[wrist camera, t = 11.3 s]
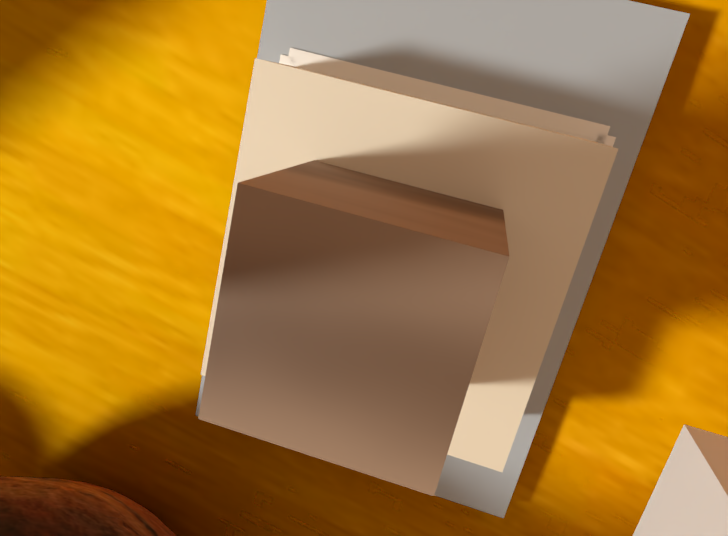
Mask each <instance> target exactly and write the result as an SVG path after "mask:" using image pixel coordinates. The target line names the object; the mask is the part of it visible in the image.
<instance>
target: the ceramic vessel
mask: <svg viewBox="0 0 728 536" xmlns="http://www.w3.org/2000/svg"><path fill="white" fill-rule="evenodd" d="M0 536H176V535H175V534H174V533H173V532H172V531H171V530H170V529H169V528H168V527H167V526H166V525H165V524H163V523H162V522H161V521H160V520H159V519H158V518H157V517H156V516H155V515H154V514H153V513H151V512H150V511H148V510H147V509H146V508H144V507H143V506H141V505H139V504H138V503H136V502H134V501H133V500H131V499H129V498H128V497H126V496H124V495H122V494H119V493H117V492H115V491H113V490H111V489H107V488H104V487H100V486H97V485H93V484H90V483H86V482H79V481H72V480H65V479H58V478H40V477H20V476H10V477H7V476H0Z"/></svg>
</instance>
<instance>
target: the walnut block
mask: <svg viewBox="0 0 728 536" xmlns="http://www.w3.org/2000/svg"><path fill="white" fill-rule="evenodd" d="M508 260H509V249H508V242H507V234H506V227H505V219H504V212H503V210H502V209H498V208H494V207H490V206H487V205H483V204H479V203H475V202H471V201H468V200H464V199H460V198H456V197H452V196H448V195H445V194H441V193H437V192H433V191H429V190H426V189H422V188H418V187H414V186H410V185H407V184H403V183H399V182H395V181H391V180H387V179H384V178H380V177H376V176H372V175H368V174H365V173H361V172H357V171H353V170H349V169H346V168H342V167H338V166H334V165H330V164H326V163H323V162H319V161H315V160H313V161H310V162H306V163H303V164H299V165H296V166H293V167H289V168H286V169H282V170H279V171H276V172H272V173H269V174H266V175H262V176H259V177H255V178H252V179H249V180H245V181H242V182H238V184H237V190H236V196H235V202H234V208H233V214H232V220H231V226H230V232H229V238H228V244H227V250H226V256H225V262H224V268H223V273H222V279H221V285H220V291H219V297H218V303H217V309H216V315H215V321H214V327H213V333H212V339H211V345H210V351H209V357H208V363H207V369H206V375H205V381H204V387H203V393H202V399H201V405H200V411H199V417H198V419H200V420H203V421H206V422H209V423H212V424H215V425H218V426H221V427H224V428H227V429H230V430H233V431H236V432H239V433H242V434H245V435H248V436H252V437H255V438H258V439H261V440H264V441H267V442H270V443H273V444H276V445H279V446H282V447H285V448H288V449H291V450H294V451H297V452H300V453H303V454H306V455H309V456H312V457H315V458H318V459H322V460H325V461H328V462H331V463H334V464H337V465H340V466H343V467H346V468H349V469H352V470H355V471H358V472H361V473H364V474H367V475H370V476H373V477H376V478H379V479H382V480H385V481H388V482H391V483H395V484H398V485H401V486H404V487H407V488H410V489H413V490H416V491H419V492H422V493H425V494H428V495H431V496H434V494H435V491H436V488H437V485H438V482H439V479H440V475H441V472H442V469H443V466H444V463H445V460H446V456H447V453H448V450H449V447H450V444H451V441H452V437H453V434H454V431H455V428H456V425H457V422H458V418H459V415H460V412H461V409H462V406H463V402H464V399H465V396H466V393H467V390H468V387H469V383H470V380H471V377H472V374H473V371H474V368H475V364H476V361H477V358H478V355H479V352H480V349H481V345H482V342H483V339H484V336H485V333H486V330H487V326H488V323H489V320H490V317H491V314H492V310H493V307H494V304H495V301H496V298H497V295H498V291H499V288H500V285H501V282H502V279H503V276H504V272H505V269H506V266H507V263H508Z"/></svg>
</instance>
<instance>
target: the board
mask: <svg viewBox="0 0 728 536" xmlns="http://www.w3.org/2000/svg"><path fill="white" fill-rule="evenodd" d="M689 16H690V14H689V13H685V12H680V11H675V10H671V9H666V8H662V7H657V6H652V5H648V4H643V3H639V2H634V1H630V0H267V4H266V10H265V15H264V21H263V27H262V33H261V38H260V44H259V50H258V56H257V58H255V62H254V68H253V73H252V79H251V85H250V91H249V97H248V102H247V108H246V114H245V120H244V126H243V132H242V137H241V143H240V149H239V155H238V161H237V166H236V172H235V178H234V184H233V190H232V196H231V201H230V207H229V213H228V219H227V225H226V230H225V236H224V242H223V248H222V254H221V260H220V265H219V271H218V277H217V283H216V289H215V294H214V300H213V306H212V312H211V318H210V324H209V329H208V335H207V341H206V347H205V353H204V358H203V364H202V370H201V375H202V380H201V386H200V391H199V397H198V403H197V409H196V416H199V411H200V405H201V399H202V393H203V387H204V381H205V375H206V369H207V363H208V357H209V351H210V345H211V339H212V333H213V327H214V321H215V315H216V309H217V303H218V297H219V291H220V285H221V279H222V273H223V268H224V262H225V256H226V250H227V244H228V238H229V232H230V226H231V220H232V214H233V208H234V202H235V196H236V190H237V184H238V182H242V181H245V180H249V179H252V178H255V177H259V176H262V175H266V174H269V173H272V172H276V171H279V170H282V169H286V168H289V167H293V166H296V165H299V164H303V163H306V162H310V161H313V160H315V161H319V162H323V163H326V164H330V165H334V166H338V167H342V168H346V169H349V170H353V171H357V172H361V173H365V174H368V175H372V176H376V177H380V178H384V179H387V180H391V181H395V182H399V183H403V184H407V185H410V186H414V187H418V188H422V189H426V190H429V191H433V192H437V193H441V194H445V195H448V196H452V197H456V198H460V199H464V200H468V201H471V202H475V203H479V204H483V205H487V206H490V207H494V208H498V209H502V210H503V212H504V219H505V227H506V234H507V242H508V249H509V260H508V263H507V266H506V269H505V272H504V276H503V279H502V282H501V285H500V288H499V291H498V295H497V298H496V301H495V304H494V307H493V310H492V314H491V317H490V320H489V323H488V326H487V330H486V333H485V336H484V339H483V342H482V345H481V349H480V352H479V355H478V358H477V361H476V364H475V368H474V371H473V374H472V377H471V380H470V383H469V387H468V390H467V393H466V396H465V399H464V402H463V406H462V409H461V412H460V415H459V418H458V422H457V425H456V428H455V431H454V434H453V437H452V441H451V444H450V447H449V450H448V453H447V456H446V460H445V463H444V466H443V469H442V472H441V475H440V479H439V482H438V485H437V488H436V491H435V494H434V495H435V496H438V497H441V498H444V499H447V500H450V501H453V502H456V503H459V504H462V505H465V506H468V507H471V508H474V509H477V510H480V511H483V512H486V513H489V514H492V515H495V516H498V517H501V518H504V516H505V514H506V511H507V508H508V505H509V503H510V500H511V497H512V495H513V492H514V489H515V487H516V484H517V481H518V478H519V476H520V473H521V470H522V468H523V465H524V462H525V460H526V457H527V454H528V451H529V449H530V446H531V443H532V441H533V438H534V435H535V432H536V430H537V427H538V424H539V422H540V419H541V416H542V414H543V411H544V408H545V405H546V403H547V400H548V397H549V395H550V392H551V389H552V386H553V384H554V381H555V378H556V376H557V373H558V370H559V368H560V365H561V362H562V359H563V357H564V354H565V351H566V349H567V346H568V343H569V341H570V338H571V335H572V332H573V330H574V327H575V324H576V322H577V319H578V316H579V313H580V311H581V308H582V305H583V303H584V300H585V297H586V295H587V292H588V289H589V286H590V284H591V281H592V278H593V276H594V273H595V270H596V267H597V265H598V262H599V259H600V257H601V254H602V251H603V249H604V246H605V243H606V240H607V238H608V235H609V232H610V230H611V227H612V224H613V221H614V219H615V216H616V213H617V211H618V208H619V205H620V203H621V200H622V197H623V194H624V192H625V189H626V186H627V184H628V181H629V178H630V176H631V173H632V170H633V167H634V165H635V162H636V159H637V157H638V154H639V151H640V148H641V146H642V143H643V140H644V138H645V135H646V132H647V130H648V127H649V124H650V121H651V119H652V116H653V113H654V111H655V108H656V105H657V102H658V100H659V97H660V94H661V92H662V89H663V86H664V84H665V81H666V78H667V75H668V73H669V70H670V67H671V65H672V62H673V59H674V56H675V54H676V51H677V48H678V46H679V43H680V40H681V38H682V35H683V32H684V29H685V27H686V24H687V21H688V19H689Z"/></svg>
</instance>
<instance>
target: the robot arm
mask: <svg viewBox="0 0 728 536" xmlns="http://www.w3.org/2000/svg"><path fill="white" fill-rule="evenodd" d="M633 536H728V437H725V436H722V435H718V434H715V433H712V432H708V431H705V430H701V429H698V428H695V427H691V426H688V425H685V424H684V426H683V428H682V430H681V433H680V435H679V437H678V439H677V441H676V443H675V445H674V448H673V450H672V452H671V454H670V456H669V458H668V461H667V463H666V465H665V467H664V469H663V471H662V474H661V476H660V478H659V480H658V482H657V484H656V486H655V489H654V491H653V493H652V495H651V497H650V499H649V502H648V504H647V506H646V508H645V510H644V512H643V515H642V517H641V519H640V521H639V523H638V525H637V527H636V530H635V532H634V534H633Z"/></svg>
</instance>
